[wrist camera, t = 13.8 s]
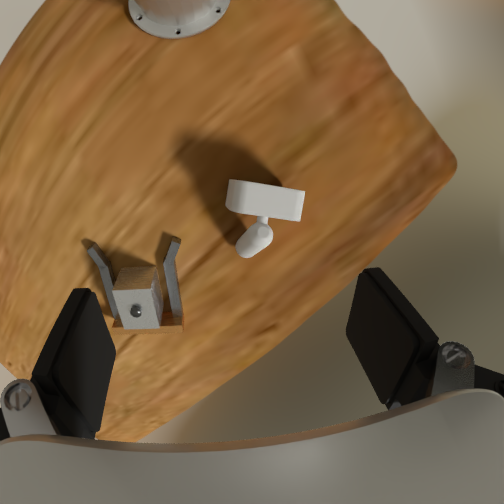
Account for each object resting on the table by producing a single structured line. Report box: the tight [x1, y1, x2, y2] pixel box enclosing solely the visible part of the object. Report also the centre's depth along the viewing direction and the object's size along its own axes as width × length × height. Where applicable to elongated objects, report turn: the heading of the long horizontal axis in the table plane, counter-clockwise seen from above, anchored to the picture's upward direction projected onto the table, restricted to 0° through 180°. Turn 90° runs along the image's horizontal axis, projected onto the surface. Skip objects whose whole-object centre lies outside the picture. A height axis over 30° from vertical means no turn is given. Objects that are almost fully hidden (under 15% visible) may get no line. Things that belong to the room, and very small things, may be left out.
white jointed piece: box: [225, 179, 305, 258], centre depth 37 cm, size 8×10×10 cm
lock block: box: [112, 266, 164, 329], centre depth 41 cm, size 7×6×7 cm
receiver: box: [87, 237, 184, 334], centre depth 42 cm, size 15×14×4 cm
